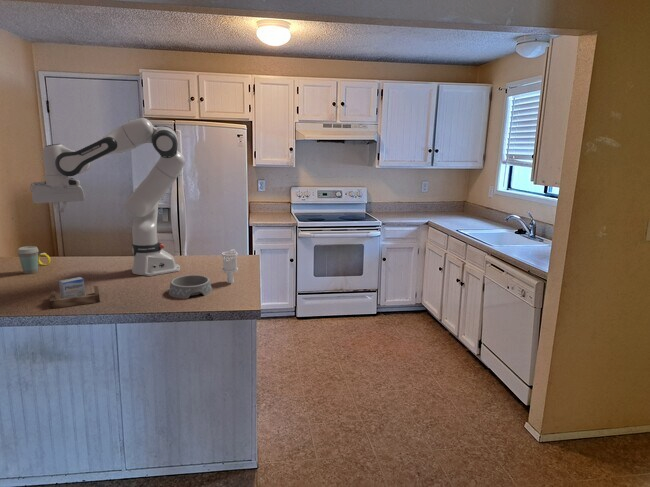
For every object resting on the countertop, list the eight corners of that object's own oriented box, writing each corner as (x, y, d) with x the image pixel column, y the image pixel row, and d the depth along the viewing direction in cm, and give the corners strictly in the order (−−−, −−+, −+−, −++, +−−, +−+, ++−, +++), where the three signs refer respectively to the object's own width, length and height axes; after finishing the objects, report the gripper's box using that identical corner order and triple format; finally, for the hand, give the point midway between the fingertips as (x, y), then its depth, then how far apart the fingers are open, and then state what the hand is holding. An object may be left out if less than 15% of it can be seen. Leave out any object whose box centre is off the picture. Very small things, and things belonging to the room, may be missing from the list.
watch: (37, 265, 225) (35, 254, 224) (41, 264, 228) (38, 253, 227) (48, 265, 225) (46, 254, 224) (52, 263, 228) (50, 252, 226)
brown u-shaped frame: (98, 292, 189) (98, 285, 189) (99, 302, 179) (99, 295, 178) (52, 298, 181) (51, 291, 181) (50, 308, 171) (49, 301, 170)
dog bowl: (218, 294, 192) (217, 282, 190) (174, 301, 182) (173, 289, 181) (205, 283, 206) (205, 272, 204) (164, 289, 196) (163, 277, 195)
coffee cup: (45, 270, 217) (42, 246, 214) (29, 275, 209) (25, 250, 206) (32, 268, 219) (29, 245, 216) (15, 273, 211) (12, 249, 209)
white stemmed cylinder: (241, 281, 209) (240, 250, 205) (232, 285, 203) (231, 253, 199) (228, 278, 212) (228, 248, 208) (219, 282, 205) (218, 251, 202)
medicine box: (64, 303, 176) (62, 282, 174) (60, 300, 179) (58, 280, 177) (85, 298, 182) (83, 278, 180) (81, 296, 185) (79, 276, 183)
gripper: (28, 182, 190) (33, 214, 194) (83, 181, 200) (86, 211, 203) (30, 181, 196) (34, 212, 199) (82, 180, 205) (85, 209, 209)
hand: (61, 212), depth 201 cm, fingers closed
